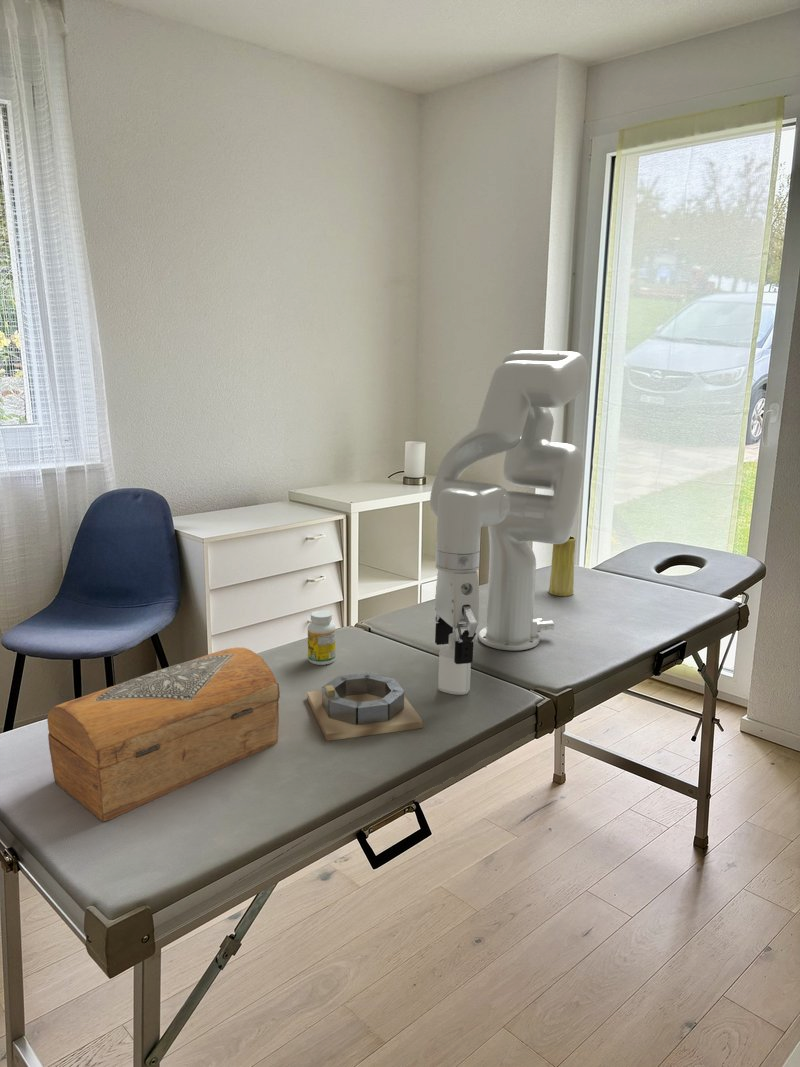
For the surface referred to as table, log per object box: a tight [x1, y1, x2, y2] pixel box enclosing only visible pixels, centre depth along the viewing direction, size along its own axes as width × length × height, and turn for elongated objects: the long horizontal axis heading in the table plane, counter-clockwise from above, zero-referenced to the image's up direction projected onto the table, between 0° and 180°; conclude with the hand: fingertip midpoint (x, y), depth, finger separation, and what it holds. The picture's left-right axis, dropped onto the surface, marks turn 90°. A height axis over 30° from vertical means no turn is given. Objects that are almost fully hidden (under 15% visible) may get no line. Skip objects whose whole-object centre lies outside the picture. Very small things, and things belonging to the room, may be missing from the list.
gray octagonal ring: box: [321, 672, 405, 725], centre depth 138 cm, size 13×13×4 cm
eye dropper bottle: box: [437, 628, 472, 696], centre depth 146 cm, size 4×6×12 cm
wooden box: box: [46, 647, 281, 822], centre depth 121 cm, size 30×16×14 cm, turn 137°
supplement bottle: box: [307, 610, 337, 666], centre depth 159 cm, size 5×5×10 cm
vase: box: [548, 535, 576, 597], centre depth 202 cm, size 6×6×14 cm
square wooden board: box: [306, 689, 424, 742], centre depth 139 cm, size 16×16×1 cm
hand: (453, 653), depth 145 cm, fingers open, 9 cm apart
